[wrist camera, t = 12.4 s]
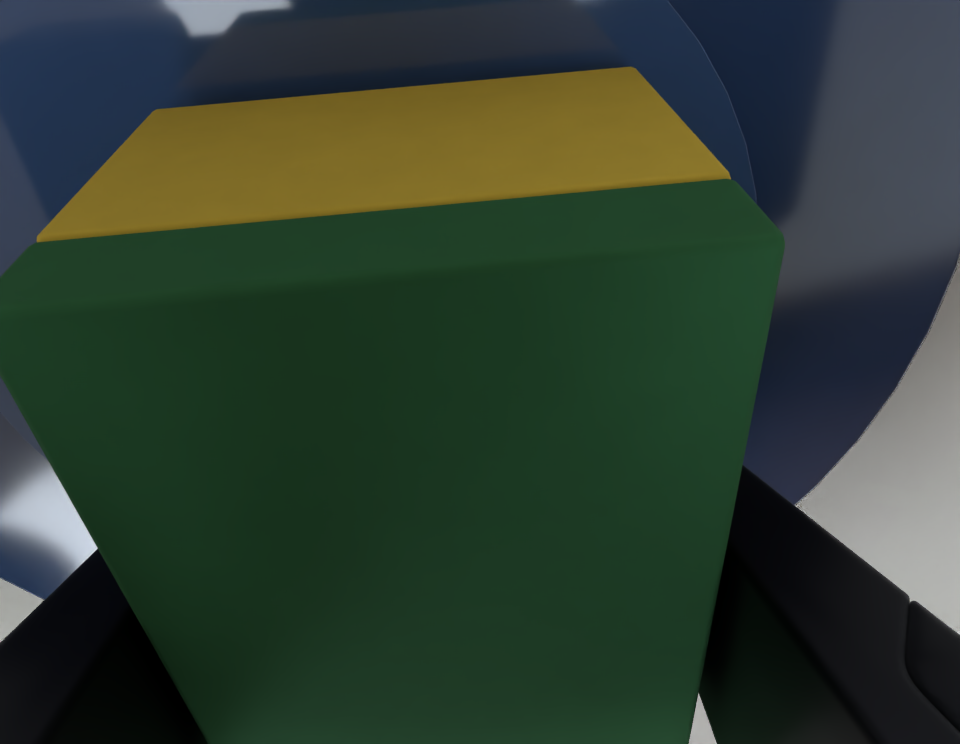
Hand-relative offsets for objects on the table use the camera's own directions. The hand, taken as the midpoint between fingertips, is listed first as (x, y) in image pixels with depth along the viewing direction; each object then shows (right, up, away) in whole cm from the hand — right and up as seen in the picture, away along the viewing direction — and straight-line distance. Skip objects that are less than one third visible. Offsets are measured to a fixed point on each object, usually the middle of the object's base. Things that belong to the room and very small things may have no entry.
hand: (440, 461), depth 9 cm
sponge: (0, +1, +1) cm, 1 cm away
